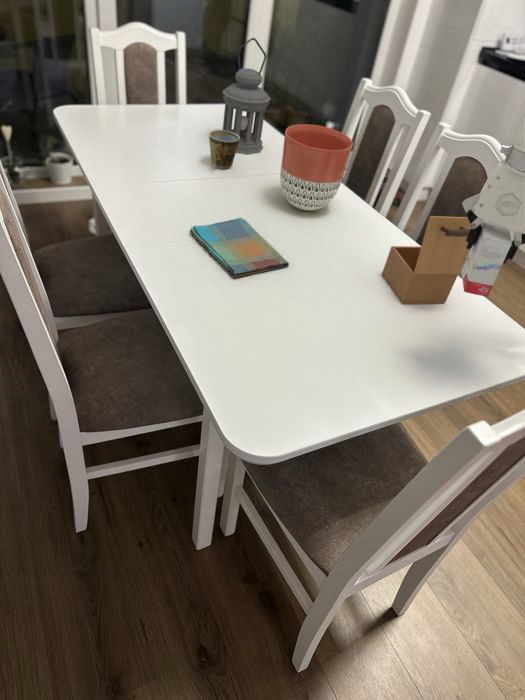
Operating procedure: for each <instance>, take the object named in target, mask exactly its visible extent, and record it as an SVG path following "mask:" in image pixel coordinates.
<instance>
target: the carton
mask: <svg viewBox="0 0 525 700" xmlns="http://www.w3.org/2000/svg"><path fill="white" fill-rule="evenodd" d="M420 250H421V246H417V245H416V246H411V245H410V246H409V245H407V246H405V245H403V246H402V245H401V246H399V245H392V246H390V249H389V252H388V255H387V258H386V261H385V263H384V267H383V270H382V273H381V276H382V277H383V279H384V280H385V281H386V283H387V284H388V286H389V287H390V289H391V290H392V291H393V293H394V294H395V296H396V297H397V299H398V300H399V302H400V303H401V304H402V305H429V304H430V305H433V304H446V302H447V300H448V298H449V296H450V294H451V291H452V290H453V287H454V285H455V282H456V280H457V279H458V276H459V274H414V271H415V267H416V264H417V260H418V257H419V253H420Z"/></svg>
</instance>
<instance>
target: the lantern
mask: <svg viewBox="0 0 525 700" xmlns="http://www.w3.org/2000/svg"><path fill="white" fill-rule="evenodd" d="M251 41H254V42H255V44H256V45H257V47H258V48H259V49H260V51H261V52H262V55H263V61H262V63H261V67H260V69H259V71H257V70H255V69H253V68H242V67H241V58H240V51H241V49H242V48H243V47H244V46H246V45H248V43H250V42H251ZM236 53H237V66H238V70H237V72H235V77H234V78H235V81H236V83H232V84H230V85H229V86H227V87H226V88H224V89H223V90H222V91H221V93H222V94H223V96H222V98H223V100H224V101H225V102H224V113H223V121H222V130H225V131H230V132H233V133H235V134H237V135H238V136H239V137H240V141H239V144H238V148H237V150H236V153H235V154H239V155H240V154H241V155H253V154H259V153H260V154H261V151H262V150H263V149H264V146H263V140H262V132H263V128H264V127H263V126H264V121H265V112H266V108H267V107H268V106H269V105H270V102H271V99H272V97H270V96H269V94H268V93H267V92H266V91H265V90H264V89H263V88H262V87H260V85H261V84H262V82H263V76H262V74H261V73H262V72H263V69H264V65H265V62H266V61H267V53H266V52H265V50H264V49H263V47H262V46H261V44H260V43H259V41H258V39H257V38H256V37H250V39H248V40H247V41H246V42H245V43H243V44H242V45H240V46H239V47H238V48H237V51H236ZM234 111H235V114H234ZM243 112H245V113H246V114H245V115H243ZM233 120H234V123H233Z"/></svg>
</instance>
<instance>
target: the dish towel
mask: <svg viewBox="0 0 525 700" xmlns="http://www.w3.org/2000/svg"><path fill="white" fill-rule="evenodd" d="M189 233H190V234H191V236H193V238H195V239H196V240H197V241H198V242H199V243H200V244H201V245H202V247H204V248H205V249H206V250H207V251H208V252H209V253H210V254H211V255H212V256H213V258H214V259H216V260H217V261H218V262H219V264H220V265H221V266H222V267H223V268H224V269H225V270H226V271H227V272H228V273H229V274H230V275H231V277H232V278H240V277H244V276H245V277H246V276H249V275H254V274H258V273H263V272H268V271H269V272H270V271H273V270H274V271H275V270H278V269H283V268H288V267H290V263H289V261H288V260H286V258H284V256H283V255H282V254H280V252H279V251H278V250H277V249H276V248H275V247H273V245H271V244H270V243H269V242H268V241H267V240H266V239H265V238H264V237H263V236H262V235H261V234H260V233H259V232H258V231H257V230H256V229H255V228H254V227H253V226H252V225H251V224H250V223H249V222H248V221H247V220H246V219H245V218H242V217H237V218H234V219H229V220H225V221H220V222H215V223H212V224H211V223H210V224H205V225H193V226H191V227H190V230H189Z"/></svg>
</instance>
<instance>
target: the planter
mask: <svg viewBox="0 0 525 700" xmlns="http://www.w3.org/2000/svg"><path fill="white" fill-rule="evenodd" d="M353 145H354V143H353V140H352V139H351V137H349V136H348V135H347V134H344V133H343V132H341V131H339V130H336V129H333V128H330V127H327V126H323V125H318V124H307V123H299V124H292V125H290V126H288V127H287V128H286V129H285V132H284V139H283V148H282V155H281V163H280V173H279V174H280V175H279V176H280V177H279V179H280V188H281V192H282V194H283V196H284V198H285V199H286V200H287V202H288V203H289V204H290V205H292V206H293V207H294V208H296V209H298V210H301V211H308V212H311V211H312V212H313V211H317V210H319V209H322V208H324V207H326V206H327V205H329V204H330V203H331V202H332V201H333V199H334V198H335V197H336V195H337V193H338V191H339V189H340V186H341V183H342V180H343V178H344V174H345V171H346V168H347V164H348V162H349V158H350V156H351V152H352V148H353Z"/></svg>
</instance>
